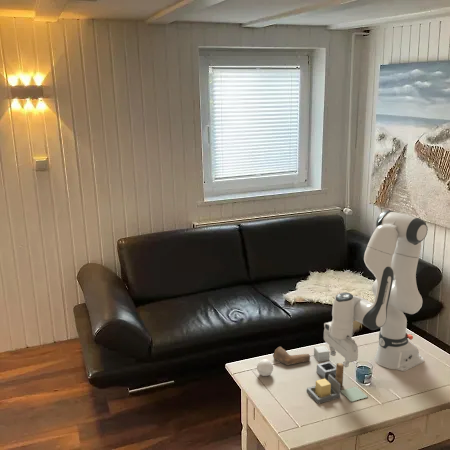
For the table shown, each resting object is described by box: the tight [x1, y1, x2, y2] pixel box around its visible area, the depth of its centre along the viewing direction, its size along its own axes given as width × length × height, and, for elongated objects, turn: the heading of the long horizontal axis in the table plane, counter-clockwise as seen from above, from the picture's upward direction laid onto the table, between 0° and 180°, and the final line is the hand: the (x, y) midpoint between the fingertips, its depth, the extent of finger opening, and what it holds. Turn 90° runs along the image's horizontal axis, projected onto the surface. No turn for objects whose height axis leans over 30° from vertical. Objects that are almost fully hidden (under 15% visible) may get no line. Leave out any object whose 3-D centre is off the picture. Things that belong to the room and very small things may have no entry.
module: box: [314, 378, 331, 398], centre depth 216 cm, size 4×4×6 cm
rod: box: [335, 362, 345, 388], centre depth 222 cm, size 3×3×10 cm
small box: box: [313, 345, 331, 363], centre depth 244 cm, size 6×6×5 cm
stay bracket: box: [316, 360, 336, 381], centre depth 230 cm, size 7×7×4 cm
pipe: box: [272, 346, 311, 366], centre depth 242 cm, size 6×17×10 cm
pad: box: [340, 386, 368, 403], centre depth 217 cm, size 8×8×1 cm
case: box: [306, 374, 341, 404], centre depth 216 cm, size 11×9×6 cm
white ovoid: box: [252, 358, 274, 377], centre depth 230 cm, size 10×7×7 cm
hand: (339, 360), depth 219 cm, fingers open, 8 cm apart
